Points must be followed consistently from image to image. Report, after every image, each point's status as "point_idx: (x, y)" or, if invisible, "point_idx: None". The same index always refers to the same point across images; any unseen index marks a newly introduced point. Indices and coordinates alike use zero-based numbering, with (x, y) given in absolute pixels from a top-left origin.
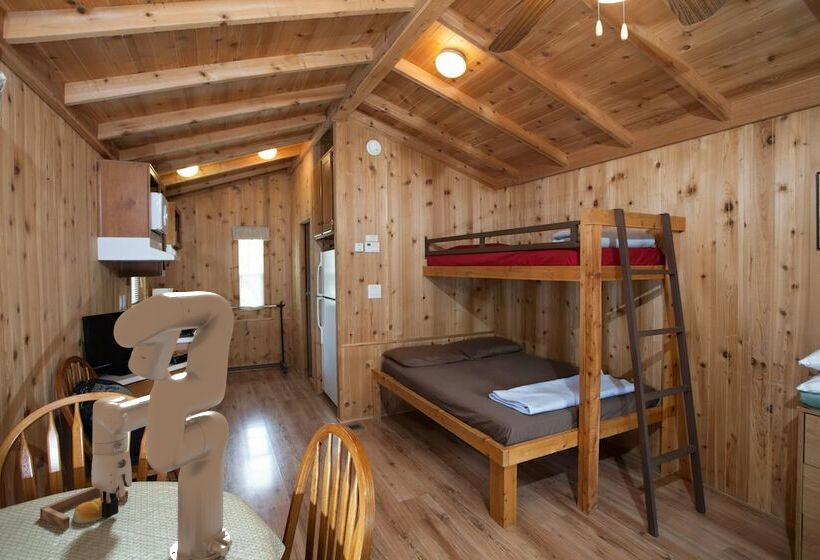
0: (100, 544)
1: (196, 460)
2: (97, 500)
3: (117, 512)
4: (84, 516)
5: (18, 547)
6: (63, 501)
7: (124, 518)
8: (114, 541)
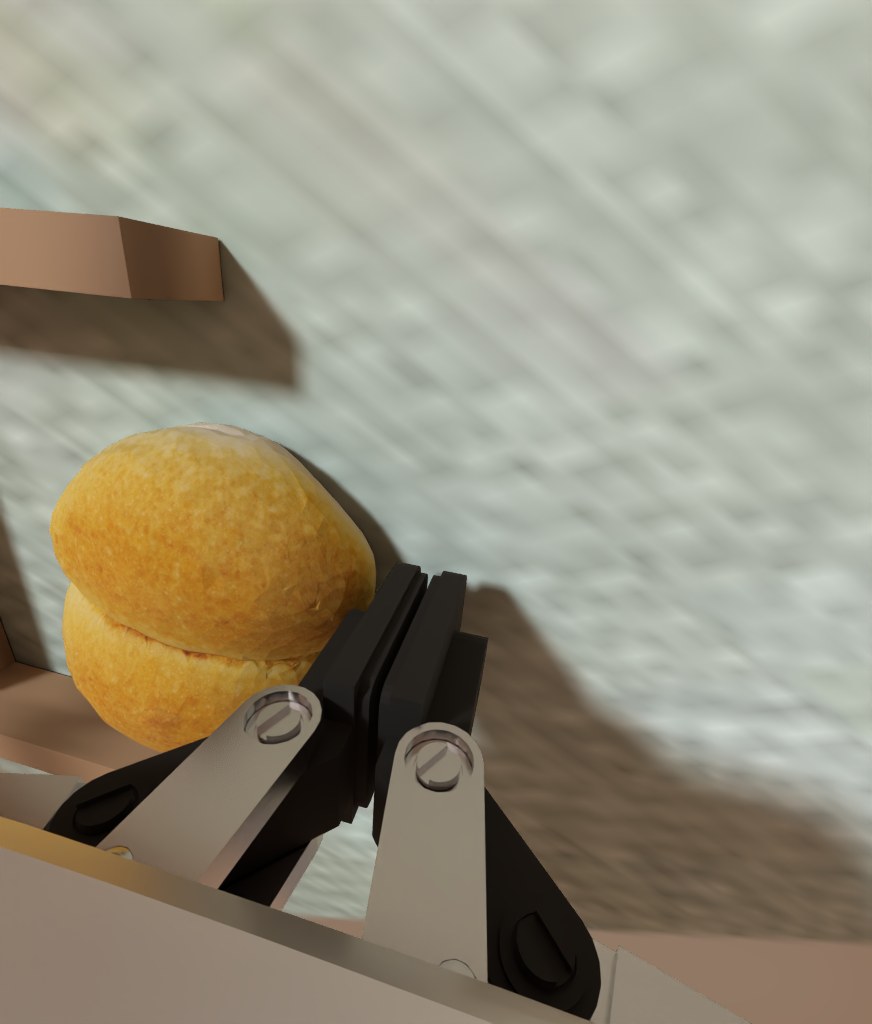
0: (722, 867)
1: None
2: (134, 625)
3: (464, 580)
4: None
5: None
6: None
7: (576, 560)
8: (822, 839)
